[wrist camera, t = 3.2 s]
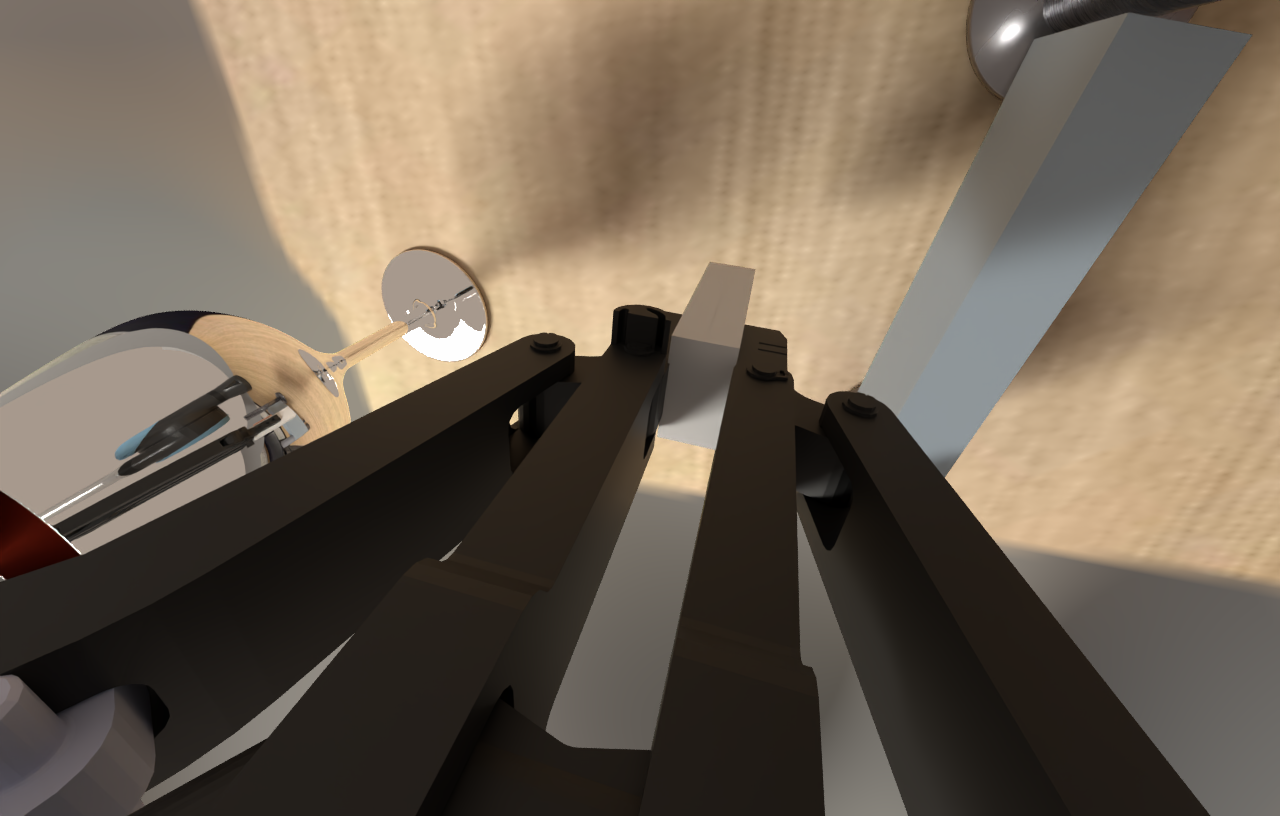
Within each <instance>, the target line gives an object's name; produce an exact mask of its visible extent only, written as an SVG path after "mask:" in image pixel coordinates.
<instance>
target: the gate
mask: <svg viewBox="0 0 1280 816" xmlns="http://www.w3.org/2000/svg"><path fill="white" fill-rule="evenodd" d="M1251 36H1252V35H1251V34H1245V33H1240V32H1234V31H1229V30H1223V29H1218V28H1212V27H1207V26H1201V25H1195V24H1190V23H1184V22H1179V21H1173V20H1168V19H1162V18H1157V17H1151V16H1146V15H1140V14H1134V13H1125V14H1121V15H1118V16H1114V17H1111V18H1107V19H1104V20H1100V21H1097V22H1093V23H1090V24H1086V25H1083V26H1079V27H1076V28H1072V29H1069V30H1065V31H1062V32H1058V33H1054V34H1051V35H1047V36H1044V37H1040V38H1037V39H1034V41H1033V43H1032V45H1031V47H1030V48H1029V50H1028V52H1027V54H1026V56H1025V58H1024V60H1023V62H1022V64H1021V66H1020V68H1019V70H1018V72H1017V74H1016V76H1015V78H1014V80H1013V82H1012V84H1011V86H1010V88H1009V90H1008V92H1007V94H1006V96H1005V98H1004V100H1003V102H1002V104H1001V106H1000V108H999V110H998V112H997V114H996V116H995V118H994V120H993V122H992V124H991V126H990V128H989V130H988V132H987V134H986V136H985V138H984V140H983V142H982V144H981V146H980V148H979V150H978V152H977V154H976V156H975V158H974V160H973V162H972V164H971V166H970V168H969V170H968V172H967V174H966V176H965V178H964V180H963V182H962V184H961V186H960V188H959V190H958V192H957V194H956V196H955V198H954V200H953V202H952V204H951V206H950V208H949V210H948V212H947V214H946V216H945V218H944V220H943V222H942V224H941V226H940V228H939V230H938V232H937V234H936V236H935V238H934V240H933V242H932V244H931V246H930V248H929V250H928V252H927V254H926V256H925V258H924V260H923V262H922V264H921V266H920V268H919V270H918V272H917V274H916V276H915V278H914V280H913V282H912V284H911V286H910V288H909V290H908V292H907V294H906V296H905V298H904V300H903V302H902V304H901V306H900V308H899V310H898V312H897V314H896V316H895V318H894V320H893V322H892V324H891V326H890V328H889V330H888V332H887V334H886V336H885V338H884V340H883V342H882V344H881V346H880V348H879V350H878V352H877V354H876V356H875V358H874V360H873V362H872V364H871V366H870V368H869V370H868V372H867V374H866V376H865V378H864V380H863V382H862V384H861V386H860V387H858V388H855V389H853V390H851V391H849V392H855V393H857V392H860V393H864V394H866V396H867V395H870V396H872V397H874V398H875V399H876V400H878V401H880V402H882V403H884V404H885V405H886V406H887V407H888V408H889V409H891V410H892V412H893V413H894V414H895V415H896V417H897V418H898V419H899V420H900V422H901V423H902V424H903V426H904V427H905V428H906V429H907V431H908V432H909V433H910V434H911V436H912V437H913V438H914V440H915V441H916V442H917V443H918V445H919V446H920V447H921V448H922V450H923V451H924V452H925V454H926V455H927V456H928V457H929V459H930V460H931V461H932V462H933V464H934V465H935V466H936V467H937V469H938V470H939V471H940V473H941V474H942V475H943V476H944V478H945V476H946V475H947V473H948V472H949V471H950V469H951V468H952V466H953V465H954V463H955V462H956V460H957V459H958V458H959V456H960V455H961V453H962V452H963V450H964V449H965V448H966V446H967V445H968V443H969V442H970V440H971V439H972V437H973V436H974V435H975V433H976V432H977V430H978V429H979V427H980V426H981V425H982V423H983V422H984V420H985V419H986V417H987V416H988V414H989V413H990V412H991V410H992V409H993V407H994V406H995V404H996V403H997V401H998V400H999V399H1000V397H1001V396H1002V394H1003V393H1004V391H1005V390H1006V389H1007V387H1008V386H1009V384H1010V383H1011V381H1012V380H1013V378H1014V377H1015V376H1016V374H1017V373H1018V371H1019V370H1020V368H1021V367H1022V366H1023V364H1024V363H1025V361H1026V360H1027V358H1028V357H1029V355H1030V354H1031V353H1032V351H1033V350H1034V348H1035V347H1036V345H1037V344H1038V343H1039V341H1040V340H1041V338H1042V337H1043V335H1044V334H1045V332H1046V331H1047V330H1048V328H1049V327H1050V325H1051V324H1052V322H1053V321H1054V320H1055V318H1056V317H1057V315H1058V314H1059V312H1060V311H1061V309H1062V308H1063V307H1064V305H1065V304H1066V302H1067V301H1068V299H1069V298H1070V296H1071V295H1072V294H1073V292H1074V291H1075V289H1076V288H1077V286H1078V285H1079V284H1080V282H1081V281H1082V279H1083V278H1084V276H1085V275H1086V273H1087V272H1088V271H1089V269H1090V268H1091V266H1092V265H1093V263H1094V262H1095V261H1096V259H1097V258H1098V256H1099V255H1100V253H1101V252H1102V250H1103V249H1104V248H1105V246H1106V245H1107V243H1108V242H1109V240H1110V239H1111V238H1112V236H1113V235H1114V233H1115V232H1116V230H1117V229H1118V227H1119V226H1120V225H1121V223H1122V222H1123V220H1124V219H1125V217H1126V216H1127V214H1128V213H1129V212H1130V210H1131V209H1132V207H1133V206H1134V204H1135V203H1136V202H1137V200H1138V199H1139V197H1140V196H1141V194H1142V193H1143V191H1144V190H1145V189H1146V187H1147V186H1148V184H1149V183H1150V181H1151V180H1152V179H1153V177H1154V176H1155V174H1156V173H1157V171H1158V170H1159V168H1160V167H1161V166H1162V164H1163V163H1164V161H1165V160H1166V158H1167V157H1168V156H1169V154H1170V153H1171V151H1172V150H1173V148H1174V147H1175V145H1176V144H1177V143H1178V141H1179V140H1180V138H1181V137H1182V135H1183V134H1184V133H1185V131H1186V130H1187V128H1188V127H1189V125H1190V124H1191V122H1192V121H1193V120H1194V118H1195V117H1196V115H1197V114H1198V112H1199V111H1200V109H1201V108H1202V107H1203V105H1204V104H1205V102H1206V101H1207V99H1208V98H1209V97H1210V95H1211V94H1212V92H1213V91H1214V89H1215V88H1216V86H1217V85H1218V84H1219V82H1220V81H1221V79H1222V78H1223V76H1224V75H1225V74H1226V72H1227V71H1228V69H1229V68H1230V66H1231V65H1232V63H1233V62H1234V61H1235V59H1236V58H1237V56H1238V55H1239V53H1240V52H1241V51H1242V49H1243V48H1244V46H1245V45H1246V43H1247V42H1248V40H1249V39H1250V38H1251Z"/></svg>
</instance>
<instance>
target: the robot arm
mask: <svg viewBox="0 0 1280 816" xmlns="http://www.w3.org/2000/svg"><path fill="white" fill-rule="evenodd" d="M754 274H755V269H751V268H745V267H739V266H733V265H727V264H721V263H715V262H709V264H708V266H707V268H706V270H705V272H704V274H703V276H702V278H701V280H700V282H699V284H698V286H697V288H696V290H695V291H694V293H693V295H692V297H691V299H690V301H689V303H688V305H687V307H686V309H685V311H684V313H683V315H682V314H677V313H671V312H666V311H663V310H661V309H659V308H655V307H651V306H645V305H625V306H621V307H618V308H616V309H615V310H614V312H613V325H612V339H611V345H610V346H609V347H608V349H607V350H606V351H605V353H604V354H603V355H602V356H594V357H589V356H575V344H574V343H573V342H572V341H571V340H570V339H568V338H566V337H563V336H559V335H556V334H554V333H549V334H547V333H540V334H535V335H529V336H526V337H523V338H521V339H519V340H517V341H515V342H513V343H511V344H509V345H507V346H505V347H503V348H501V349H499V350H497V351H495V352H493V353H491V354H489V355H487V356H485V357H483V358H481V359H479V360H477V361H474V362H472V363H470V364H468V365H466V366H464V367H462V368H460V369H458V370H456V371H454V372H452V373H450V374H448V375H446V376H444V377H442V378H440V379H438V380H436V381H434V382H432V383H430V384H428V385H426V386H424V387H422V388H420V389H418V390H416V391H414V392H412V393H410V394H408V395H406V396H404V397H402V398H400V399H397V400H395V401H393V402H391V403H389V404H387V405H385V406H383V407H381V408H379V409H377V410H375V411H373V412H371V413H369V414H367V415H365V416H363V417H361V418H359V419H357V420H355V421H353V422H351V423H349V424H347V425H345V426H343V427H341V428H339V429H337V430H335V431H333V432H331V433H329V434H327V435H325V436H323V437H320V438H318V439H316V440H314V441H312V442H310V443H308V444H306V445H304V446H302V447H300V448H298V449H296V450H294V451H292V452H290V453H288V454H286V455H284V456H282V457H280V458H278V459H276V460H274V461H272V462H270V463H268V464H266V465H264V466H262V467H260V468H258V469H256V470H254V471H252V472H250V473H248V474H245V475H243V476H241V477H239V478H237V479H235V480H233V481H231V482H229V483H227V484H225V485H223V486H221V487H219V488H217V489H215V490H213V491H211V492H209V493H207V494H205V495H203V496H201V497H199V498H197V499H195V500H193V501H191V502H189V503H187V504H185V505H183V506H181V507H179V508H177V509H175V510H173V511H171V512H168V513H166V514H164V515H162V516H160V517H158V518H156V519H154V520H152V521H150V522H148V523H146V524H144V525H142V526H140V527H138V528H136V529H134V530H132V531H130V532H128V533H126V534H124V535H122V536H120V537H118V538H116V539H114V540H112V541H110V542H108V543H106V544H104V545H102V546H100V547H98V548H96V549H94V550H91V551H89V552H87V553H85V554H83V555H80V556H77V557H74V558H71V559H68V560H65V561H62V562H59V563H56V564H53V565H50V566H47V567H44V568H41V569H38V570H35V571H32V572H29V573H26V574H23V575H20V576H17V577H14V578H11V579H8V580H5V581H2V582H0V816H825V807H824V790H823V789H824V788H823V769H822V751H821V732H820V713H819V697H818V689H817V681H816V677H815V674H814V672H813V669H812V667H808V666H805V665H803V664H802V661H801V656H800V629H799V628H800V627H799V586H798V585H799V584H798V542H797V512H798V515H799V518H800V520H801V523H802V526H803V528H804V531H805V534H806V537H807V539H808V542H809V545H810V547H811V550H812V553H813V556H814V559H815V561H816V564H817V567H818V570H819V572H820V575H821V578H822V581H823V583H824V586H825V589H826V592H827V594H828V597H829V600H830V603H831V605H832V608H833V611H834V614H835V616H836V618H837V622H838V624H839V627H840V630H841V633H842V635H843V638H844V641H845V644H846V646H847V649H848V652H849V655H850V657H851V660H852V663H853V665H854V668H855V671H856V674H857V676H858V679H859V682H860V685H861V687H862V690H863V693H864V695H865V698H866V701H867V704H868V707H869V709H870V712H871V715H872V717H873V720H874V723H875V726H876V729H877V731H878V734H879V736H880V739H881V742H882V745H883V748H884V751H885V753H886V756H887V759H888V761H889V764H890V767H891V770H892V772H893V775H894V778H895V781H896V783H897V786H898V789H899V791H900V794H901V797H902V800H903V803H904V805H905V808H906V811H907V814H908V816H1210V815H1209V813H1208V812H1207V811H1206V810H1205V808H1204V807H1203V806H1202V805H1201V803H1200V802H1199V801H1198V800H1197V798H1196V797H1195V796H1194V794H1193V793H1192V792H1191V790H1190V789H1189V788H1188V787H1187V785H1186V784H1185V783H1184V782H1183V780H1182V779H1181V778H1180V776H1179V775H1178V774H1177V773H1176V771H1175V770H1174V769H1173V768H1172V766H1171V765H1170V764H1169V763H1168V761H1167V760H1166V759H1165V757H1164V756H1163V755H1162V754H1161V752H1160V751H1159V750H1158V748H1157V747H1156V746H1155V745H1154V743H1153V742H1152V741H1151V740H1150V738H1149V737H1148V736H1147V734H1146V733H1145V732H1144V731H1143V730H1142V728H1141V727H1140V726H1139V725H1138V723H1137V722H1136V721H1135V719H1134V718H1133V717H1132V715H1131V714H1130V713H1129V712H1128V710H1127V709H1126V708H1125V707H1124V705H1123V704H1122V703H1121V702H1120V700H1119V699H1118V698H1117V697H1116V695H1115V694H1114V693H1113V691H1112V690H1111V689H1110V687H1109V686H1108V685H1107V684H1106V682H1105V681H1104V680H1103V679H1102V677H1101V676H1100V675H1099V674H1098V672H1097V671H1096V670H1095V668H1094V667H1093V666H1092V665H1091V663H1090V662H1089V661H1088V660H1087V658H1086V657H1085V656H1084V655H1083V653H1082V652H1081V651H1080V649H1079V648H1078V647H1077V646H1076V644H1075V643H1074V642H1073V640H1072V639H1071V638H1070V637H1069V635H1068V634H1067V633H1066V632H1065V630H1064V629H1063V628H1062V627H1061V625H1060V624H1059V623H1058V621H1057V620H1056V619H1055V618H1054V616H1053V615H1052V614H1051V612H1050V611H1049V610H1048V609H1047V607H1046V606H1045V605H1044V604H1043V602H1042V601H1041V600H1040V598H1039V597H1038V596H1037V595H1036V593H1035V592H1034V591H1033V590H1032V588H1031V587H1030V586H1029V584H1028V583H1027V582H1026V581H1025V579H1024V578H1023V577H1022V576H1021V574H1020V573H1019V572H1018V571H1017V569H1016V568H1015V567H1014V566H1013V564H1012V563H1011V562H1010V560H1009V559H1008V558H1007V556H1006V555H1005V554H1004V553H1003V551H1002V550H1001V549H1000V548H999V546H998V545H997V544H996V543H995V541H994V540H993V539H992V537H991V536H990V535H989V534H988V532H987V531H986V530H985V529H984V527H983V526H982V525H981V523H980V522H979V521H978V520H977V518H976V517H975V516H974V515H973V513H972V512H971V511H970V509H969V508H968V507H967V506H966V504H965V503H964V502H963V501H962V499H961V498H960V497H959V495H958V494H957V493H956V492H955V490H954V489H953V488H952V487H951V485H950V484H949V483H948V481H947V480H946V479H945V478H944V476H943V475H942V474H941V473H940V471H939V470H938V469H937V467H936V466H935V465H934V464H933V462H932V461H931V460H930V459H929V457H928V456H927V455H926V454H925V452H924V451H923V450H922V448H921V447H920V446H919V445H918V443H917V442H916V441H915V440H914V438H913V437H912V436H911V434H910V433H909V432H908V431H907V429H906V428H905V427H904V426H903V424H902V423H901V422H900V420H899V419H898V418H897V417H896V415H895V414H894V413H893V412H892V410H891V409H889V408H888V407H887V406H886V405H885V404H884V403H882V402H880V401H878V400H876V399H875V398H874V397H872V396H870V395H867V396H866V394H864V393H860V392H857V393H855V392H849V391H840V392H835V393H832V394H830V395H829V396H828V397H827V399H826V402H825V405H824V404H822V403H819V402H816V401H813V400H811V399H809V398H807V397H804V396H803V395H801V394H799V393H798V392H796V391H795V390H794V379H793V377H792V375H791V374H790V373H789V372H788V371H787V339H786V338H785V337H784V335H783V334H782V333H781V332H780V331H777V330H771V329H766V328H761V327H755V326H750V325H745V319H746V314H747V309H748V304H749V299H750V294H751V289H752V284H753V279H754ZM517 409H518V419H519V420H518V421H517V422H515V423H514V424H513V425H510V423H509V422H510V419H511V417H512V415H513V413H514V412H515V411H516V410H517ZM658 424H659V428H658V435H657V437H660V438H665V439H669V440H674V441H678V442H683V443H687V444H691V445H696V446H700V447H705V448H709V449H713V450H715V454H714V459H713V463H712V468H711V472H710V477H709V481H708V486H707V491H706V496H705V500H704V505H703V509H702V514H701V519H700V523H699V528H698V533H697V537H696V542H695V547H694V551H693V556H692V561H691V565H690V570H689V574H688V579H687V584H686V588H685V593H684V598H683V602H682V608H681V612H680V616H679V621H678V626H677V631H676V635H675V639H674V644H673V649H672V654H671V658H670V663H669V667H668V673H667V677H666V681H665V686H664V690H663V695H662V700H661V704H660V709H659V714H658V718H657V723H656V728H655V732H654V737H653V742H652V746H651V750H630V749H629V750H628V749H599V748H598V749H597V748H575V747H571V746H567V745H565V744H563V743H562V742H560V741H559V740H557V739H556V738H554V737H553V736H552V735H550V734H549V733H547V732H546V726H547V722H548V718H549V715H550V711H551V709H552V706H553V703H554V700H555V698H556V695H557V693H558V690H559V688H560V685H561V683H562V680H563V677H564V675H565V672H566V670H567V667H568V664H569V662H570V660H571V657H572V655H573V652H574V649H575V647H576V644H577V642H578V639H579V636H580V634H581V632H582V629H583V626H584V624H585V621H586V619H587V616H588V614H589V611H590V608H591V606H592V604H593V601H594V598H595V596H596V593H597V591H598V588H599V586H600V583H601V581H602V578H603V575H604V573H605V570H606V568H607V565H608V563H609V560H610V558H611V555H612V553H613V550H614V547H615V545H616V542H617V539H618V537H619V535H620V532H621V529H622V527H623V524H624V522H625V519H626V517H627V514H628V512H629V509H630V506H631V504H632V501H633V499H634V496H635V494H636V491H637V489H638V486H639V484H640V481H641V479H642V476H643V473H644V471H645V468H646V466H647V463H648V461H649V458H650V456H651V453H652V450H653V448H654V441H655V434H656V429H657V427H658ZM462 540H463V541H462ZM461 541H462V542H461ZM460 542H461V543H460ZM459 543H460V545H459V546H458V547H457V549H456V550H455V552H454V553H453V554H452V555H451V556H450V557H449V558H448V559H447V560H444V561H442V562H441V561H439V560H440V559H442V557H444V556H445V555H446V554H447V553H448V552H450V551H451V550H452V549H453V548H454V547H455V546H457V545H458V544H459ZM353 634H354V635H353ZM352 635H353V636H352ZM351 636H352V637H351ZM349 637H351V639H350V640H349V641H348V642H347V643H346V644H345V646H344V647H343V648H342V649H341V651H340V652H339V653H338V654H337V655H336V656H335V658H334V659H333V660H332V661H331V663H330V664H329V665H328V666H327V668H326V669H325V670H324V671H323V672H322V673H321V675H320V676H319V677H318V678H317V679H316V681H315V682H314V683H313V684H312V685H311V687H310V688H309V689H308V690H307V691H306V693H305V694H304V695H303V696H302V697H301V699H300V700H299V701H298V703H297V704H296V705H295V706H294V707H293V708H292V710H291V711H290V712H289V713H288V714H287V716H286V717H285V718H284V719H283V721H282V722H281V723H280V724H279V725H278V726H277V728H276V729H275V730H274V731H273V732H272V734H271V735H270V736H269V737H268V738H267V739H265V740H263V741H262V742H260V743H258V744H256V745H254V746H252V747H251V748H249V749H247V750H245V751H244V752H242V753H240V754H238V755H237V756H235V757H233V758H231V759H229V760H227V761H225V762H224V763H222V764H220V765H218V766H216V767H214V768H213V769H211V770H209V771H207V772H206V773H204V774H202V775H200V776H198V777H196V778H195V779H193V780H191V781H189V782H187V783H185V784H184V785H182V786H180V787H178V788H177V789H175V790H173V791H171V792H169V793H167V794H166V795H164V796H162V797H160V798H158V799H157V800H155V801H153V802H151V803H149V804H148V805H146V806H145V805H144V804H143V802H142V801H141V797H142V796H143V794H144V793H145V792H146V791H148V790H150V789H151V788H153V787H154V786H156V785H158V784H159V783H161V782H163V781H164V780H166V779H167V778H169V777H171V776H173V775H174V774H176V773H177V772H179V771H181V770H182V769H184V768H186V767H187V766H188V765H190V764H191V763H193V762H194V761H196V760H197V759H199V758H200V757H201V756H203V755H204V754H206V753H207V752H209V751H210V750H212V749H213V748H214V747H216V746H217V745H219V744H220V743H222V742H223V741H224V740H226V739H227V738H229V737H230V736H232V735H233V734H234V733H236V732H237V731H238V730H240V728H242V727H243V726H244V725H246V724H247V723H248V722H250V721H251V720H252V719H253V718H255V717H256V716H257V715H258V714H260V713H261V712H262V711H263V710H265V709H266V708H267V707H268V706H270V705H271V704H272V703H273V702H275V701H276V700H277V699H278V698H279V697H281V696H282V695H283V694H284V693H285V692H286V691H288V690H289V689H290V688H291V687H292V686H293V685H295V684H296V683H297V682H298V681H299V680H300V679H301V678H303V677H304V676H305V675H306V674H307V673H309V672H310V671H311V670H312V669H313V668H314V667H316V666H317V665H318V664H319V663H320V662H321V661H322V660H324V659H325V658H326V657H327V656H328V655H330V654H331V653H332V652H333V651H334V650H335V649H337V647H339V646H340V645H341V644H342V643H344V642H345V641H346V640H347V639H348V638H349Z"/></svg>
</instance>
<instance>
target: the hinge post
mask: <svg viewBox="0 0 1280 816" xmlns="http://www.w3.org/2000/svg"><path fill="white" fill-rule="evenodd" d="M1217 1H1221V0H971V1H970V5H969V9H968V16H967V23H966V42H967V51H968V55H969V59H970V63H971V65H972V67H973V70H974V72H975V74H976V76H977V77H978V79H979V80H980V82H981V83H982V84H983V85H984V86H985V87H986V88H987V89H988V90H989V92H991V93H992V94H994V95H995V96H996V97H998V98H999V99H1001V100H1004V98H1005V96H1006V94H1007V92H1008V90H1009V88H1010V86H1011V84H1012V82H1013V80H1014V78H1015V76H1016V74H1017V72H1018V70H1019V68H1020V66H1021V64H1022V62H1023V60H1024V58H1025V56H1026V54H1027V52H1028V50H1029V48H1030V47H1031V45H1032V43H1033V41H1034V39H1037V38H1040V37H1044V36H1047V35H1051V34H1054V33H1058V32H1062V31H1065V30H1069V29H1072V28H1076V27H1079V26H1083V25H1086V24H1090V23H1093V22H1097V21H1100V20H1104V19H1107V18H1111V17H1114V16H1118V15H1121V14H1125V13H1134V14H1140V15H1146V16H1151V17H1157V18H1162V19H1168V20H1173V21H1179V22H1184V23H1188V22H1189V20H1190V19H1191V17H1192V16H1193V14H1194V13H1195V12H1196V10H1197V8H1198V7H1199V6H1201V5H1205V4H1209V3H1213V2H1217Z"/></svg>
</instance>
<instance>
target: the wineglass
mask: <svg viewBox="0 0 1280 816" xmlns="http://www.w3.org/2000/svg"><path fill="white" fill-rule="evenodd" d="M382 298H383V302H384V306H385V309H386V312H387V314H388V316H389V318H390V320H391V322H392V323H391V324H389V325H388V326H386V327H384V328H382V329H380V330H378V331H377V332H375V333H373V334H371V335H369V336H367V337H365V338H363V339H362V340H360V341H358V342H356V343H354V344H352V345H350V346H348V347H346V348H344V349H343V350H341V351H339V352H337V353H334V354H329V353H328V354H327V353H322V352H318V351H316V350H313V349H311V348H310V347H308V346H306V345H305V344H303V343H301V342H300V341H298V340H296V339H295V338H293V337H291V336H289V335H287V334H285V333H283V332H281V331H279V330H277V329H275V328H272V327H270V326H267V325H265V324H262V323H259V322H256V321H253V320H250V319H247V318H243V317H239V316H235V315H230V314H225V313H219V312H211V311H198V310H178V311H166V312H160V313H154V314H149V315H145V316H141V317H138V318H135V319H132V320H129V321H127V322H124V323H121V324H119V325H117V326H115V327H112V328H110V329H108V330H106V331H104V332H102V333H100V334H98V335H96V336H94V337H92V338H91V339H89V340H87V341H85V342H83V343H82V344H80V345H78V346H76V347H74V348H73V349H71V350H69V351H68V352H66V353H64V354H62V355H61V356H59V357H57V358H56V359H54V360H52V361H51V362H49V363H48V364H46V365H44V366H43V367H41V368H40V369H38V370H36V371H35V372H33V373H31V374H30V375H28V376H27V377H25V378H23V379H22V380H20V381H19V382H17V383H16V384H14V385H13V386H11V387H9V388H8V389H7V390H5V391H3V392H2V393H0V577H1V578H3V579H4V580H8V579H11V578H14V577H17V576H20V575H23V574H26V573H29V572H32V571H35V570H38V569H41V568H44V567H47V566H50V565H53V564H56V563H59V562H62V561H65V560H68V559H71V558H74V557H77V556H80V555H83V554H85V553H87V552H89V551H91V550H94V549H96V548H98V547H100V546H102V545H104V544H106V543H108V542H110V541H112V540H114V539H116V538H118V537H120V536H122V535H124V534H126V533H128V532H130V531H132V530H134V529H136V528H138V527H140V526H142V525H144V524H146V523H148V522H150V521H152V520H154V519H156V518H158V517H160V516H162V515H164V514H166V513H168V512H171V511H173V510H175V509H177V508H179V507H181V506H183V505H185V504H187V503H189V502H191V501H193V500H195V499H197V498H199V497H201V496H203V495H205V494H207V493H209V492H211V491H213V490H215V489H217V488H219V487H221V486H223V485H225V484H227V483H229V482H231V481H233V480H235V479H237V478H239V477H241V476H243V475H245V474H248V473H250V472H252V471H254V470H256V469H258V468H260V467H262V466H264V465H266V464H268V463H270V462H272V461H274V460H276V459H278V458H280V457H282V456H284V455H286V454H288V453H290V452H292V451H294V450H296V449H298V448H300V447H302V446H304V445H306V444H308V443H310V442H312V441H314V440H316V439H318V438H320V437H323V436H325V435H327V434H329V433H331V432H333V431H335V430H337V429H339V428H341V427H343V426H345V425H347V424H349V423H351V420H350V412H349V407H348V403H347V399H346V395H345V392H344V388H343V378H344V375H345V372H346V370H347V369H348V368H350V367H352V366H353V365H355V364H356V363H358V362H360V361H361V360H363V359H365V358H366V357H368V356H370V355H371V354H373V353H375V352H376V351H378V350H380V349H382V348H383V347H385V346H387V345H388V344H390V343H392V342H394V341H395V340H397V339H399V338H400V337H403V338H404V339H405V340H406V341H407V342H408V343H409V344H410V345H411V346H412V347H414V348H415V349H416V350H418V351H419V352H421V353H422V354H424V355H426V356H428V357H431V358H433V359H436V360H440V361H446V362H456V361H461V360H464V359H467V358H469V357H471V356H472V355H474V354H475V353H476V352H477V351H478V350H479V349H480V347H481V346H482V344H483V343H484V341H485V338H486V335H487V330H488V315H487V309H486V306H485V302H484V300H483V297H482V295H481V293H480V291H479V289H478V287H477V286H476V284H475V283H474V281H473V280H472V278H471V277H470V276H469V275H468V274H467V273H466V272H465V271H464V270H463V269H462V268H461V267H460V266H459V265H458V264H457V263H455V262H454V261H452V260H451V259H449V258H448V257H446V256H444V255H442V254H439V253H437V252H434V251H430V250H424V249H414V250H409V251H405V252H403V253H401V254H399V255H397V256H396V257H394V258H393V259H392V260H391V261H390V263H389V264H388V265H387V267H386V269H385V272H384V274H383V279H382Z"/></svg>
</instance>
